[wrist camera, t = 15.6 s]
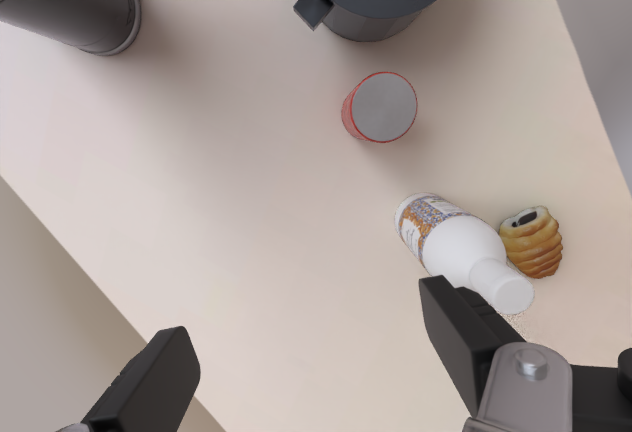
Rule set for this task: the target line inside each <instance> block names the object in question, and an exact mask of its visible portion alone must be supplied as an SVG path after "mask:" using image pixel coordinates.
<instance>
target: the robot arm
mask: <svg viewBox="0 0 632 432" xmlns="http://www.w3.org/2000/svg"><path fill="white" fill-rule="evenodd" d="M0 21H2V22H5V23H8V24H11V25H14V26H17V27H19V28H22V29H25V30H28V31H31V32H34V33H37V34H40V35H43V36H45V37H48V38H51V39H54V40H57V41H60V42H62V43H65V44H68V45H71V46H74V47H77V48H79V49H81V50H83V51H86V52H89V53H92V54H95V55H102V56H107V55H113V54H116V53H119V52H121V51H123V50H124V49H126V48H127V47H128V46H129V45H130V44H131V43H132V42H133V40H134V39H135V37H136V35H137V33H138V30H139V27H140V21H141V8H140V2H139V0H0ZM419 290H420V297H421V303H422V310H423V317H424V323H425V327H426V330H427V333H428V336H429V339H430V341H431V343H432V344H433V346H434V348H435V350H436V352H437V354H438V355H439V357H440V359H441V361H442V363H443V365H444V366H445V368H446V370H447V372H448V374H449V376H450V378H451V379H452V381H453V383H454V385H455V387H456V389H457V390H458V392H459V394H460V396H461V398H462V400H463V401H464V403H465V405H466V407H467V409H468V411H469V412H470V414H471V416H472V418H471V417H469V418H468V419H467V420H466V422H465V424H464V427H463V430H462V432H632V348H629V349H626V350H624V351H623V352H621V353H620V355H619V357H618V368H610V367H593V366H579V365H572V364H569V363H568V362H567V360H566V359H565V358H564V357H563V356H561V355H560V354H559V353H557V352H555V351H554V350H552V349H550V348H547V347H545V346H542V345H538V344H534V343H528V342H526V341H525V340H524V339H523V338H522V337H521V336H520V335H519V334H518V333H517V332H516V331H515V330H514V329H513V328H512V327H511V326H510V325H509V324H508V323H507V322H506V321H505V319H504V318H503V317H502V316H501V315H500V314H499V313H496V310H495V309H494V308H493V307H492V306H491V305H488V302H487V301H486V300H485V299H484V298H483V297H482V296H481V295H480V294H479V293H477V292H475V291H473V290H470V289H468V288H466V287H464V286H463V287H458V288H454V287H453V286H452V285H451V283H450V282H449V281H448V280H447V279H446V278H445V277H444V276H443V275H437V276H432V277H427V278H422V279H419ZM199 381H200V364H199V361H198V359H197V356H196V353H195V351H194V348H193V345H192V343H191V340H190V337H189V335H188V332H187V330H186V329H185V327H183V326H179V327H174V328H169V329H164V330H160V331H158V332H157V333H156V334H155V336H154V337H153V338H152V339H151V341H150V342H149V343H148V345H147V346H146V347H145V348H144V349H143V350H142V351H141V352H140V353H138V354H137V355H136V356H135V357H134V358H133V359H131V360H130V361H129V362H128V364H127V365H126V366H125V367H124V369H123V370H122V371H121V372H120V375H119V376H117V377H116V378H115V380H114V381H113V382H112V383H111V386H110V387H108V388H107V390H106V391H105V392H104V394H103V395H102V396H101V397H100V398H99V400H98V401H97V402H96V403H95V405H94V406H93V407H92V408H91V410H90V411H89V412H88V413H87V415H86V416H85V417H84V418H83V420H82V421H81V422H80V423H77V424H72V425H69V426H67V427H64V428H62V429H60V430H58V431H56V432H177V430H178V428H179V425H180V423H181V421H182V419H183V417H184V415H185V412H186V410H187V408H188V406H189V403H190V401H191V399H192V397H193V395H194V393H195V391H196V388H197V386H198V384H199Z"/></svg>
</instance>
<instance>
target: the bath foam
mask: <svg viewBox="0 0 632 432" xmlns="http://www.w3.org/2000/svg"><path fill="white" fill-rule="evenodd" d="M395 227H396V230H397V233H398V234H399V236H400V237H401V238H402V240H403V241H404V242H405V244H406V245H407V246H408V248H409V249H410V250H411V251H412V253H413V254H414V255H415V256H416V258H417V259H418V260H419V261H420V263H421V264H422V265H423V267H424V268H425V269H426V270H427V272H428V273H429V274H430V275H431V276H437V275H443V276H444V277H445V278H446V279H447V280H448V281H449V282H450V283H451V285H452V286H453V287H454V288H458V287H463V286H464V287H466V288H468V289H470V290H473V291H475V292H478V293H479V294H480V295H481V296H482V297H483V298H484V299H485V300H486V301H487V302H488V303H489V304H490V305H491V306H492V307H493V308H494V309H496V310H497V311H498V312H500V313H502V314H505V315H515V314H519V313H521V312H523V311H525V310H526V309H527V308H528V307H529V306H530V305H531V303H532V302H533V299H534V295H535V292H534V288H533V286H532V284H531V283H530V282H529V281H528V280H527V279H526V278H525V277H523V276H522V275H520V274H519V273H517V272H516V271H515V270H513V269H512V268H510V267H509V266H507V265H506V264H507V257H506V250H505V247H504V244H503V242H502V240H501V238H500V237H499V235H498V234H497V233H496V231H495V230H494V229H493V228H492V227H491V226H490V225H488V224H487V223H486V222H485V221H483V220H481V219H480V218H478V217H476V216H474V215H472V214H470V213H468V212H467V211H465V210H463V209H461V208H459V207H457V206H455V205H454V204H452V203H450V202H448V201H446V200H444V199H442V198H440V197H438V196H436V195H434V194H431V193H418V194H414V195H412V196H410V197H408V198H407V199H405V200H404V201H403V202H402V203H401V205H400V206H399V207H398V209H397V212H396V215H395Z"/></svg>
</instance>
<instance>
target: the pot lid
mask: <svg viewBox="0 0 632 432" xmlns="http://www.w3.org/2000/svg"><path fill="white" fill-rule="evenodd" d="M329 1H331V2H332V3H333V4H335V5H336V6H337V7H339V8H340V9H342V10H344V11H346V12H348V13H350V14H352V15H355V16H358V17H361V18H365V19H370V20H394V19H399V18H403V17H407V16H410V15H412V14H415V13H417V12H419V11H421V10H423V9H425V8H426V7H428V6H430V5H431V4H433V3H434V2H435V1H437V0H329Z"/></svg>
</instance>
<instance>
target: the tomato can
mask: <svg viewBox="0 0 632 432" xmlns="http://www.w3.org/2000/svg"><path fill="white" fill-rule="evenodd" d="M416 113H417V98H416V94H415V91H414V89H413V87H412V86H411V84H410V83H409V82H408V81H407V80H406V79H405V78H404V77H402V76H400V75H398V74H396V73H392V72H378V73H375V74H372V75H370V76H368V77H367V78H365V79H364V80H363V81H362V82H361V83H360V84H359V85H358V86H357V87H356V88H355V89H354V90H353V91H352V92H351V93H350V94H349V95H348V96H347V98H346V99H345V101H344V104H343V107H342V121H343V124H344V126H345V128H346V130H347V131H348V132H349V133H350V134H351V135H353V136H354V137H356V138H359V139H363V140H367V141H372V142H377V143H386V142H391V141H394V140H396V139H398V138H400V137H401V136H403V135H404V134H405V133H406V132H407V131H408V130H409V128H410V127H411V126H412V124H413V122H414V120H415V117H416Z"/></svg>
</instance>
